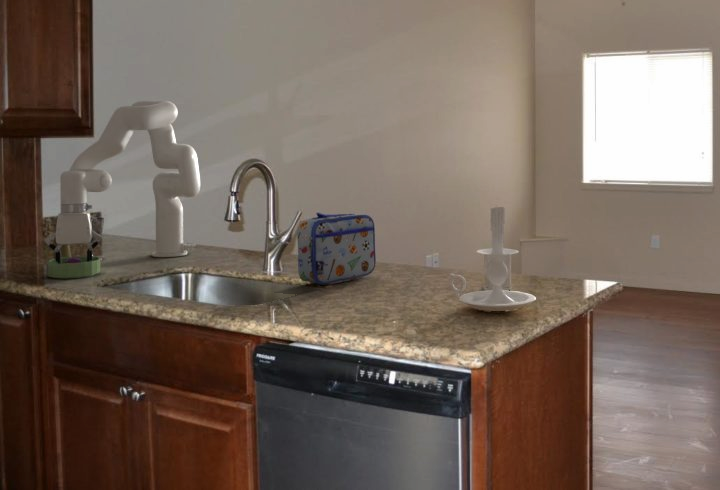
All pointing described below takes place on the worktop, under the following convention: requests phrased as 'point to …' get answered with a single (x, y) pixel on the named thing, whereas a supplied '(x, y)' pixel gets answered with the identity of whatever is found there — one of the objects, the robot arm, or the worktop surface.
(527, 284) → the worktop surface
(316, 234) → the lunch box
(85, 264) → the bowl
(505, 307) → the candlestick
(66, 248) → the cork
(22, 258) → the worktop surface
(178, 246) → the robot arm
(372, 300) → the worktop surface
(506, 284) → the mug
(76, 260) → the ball
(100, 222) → the wine glass
